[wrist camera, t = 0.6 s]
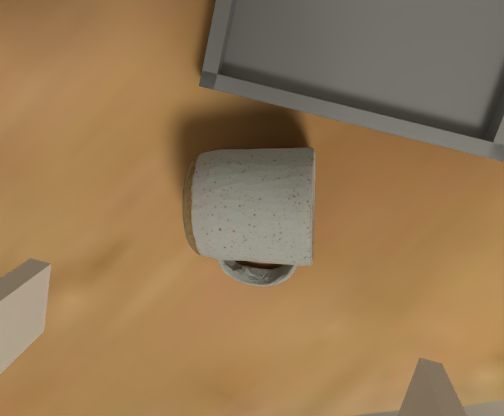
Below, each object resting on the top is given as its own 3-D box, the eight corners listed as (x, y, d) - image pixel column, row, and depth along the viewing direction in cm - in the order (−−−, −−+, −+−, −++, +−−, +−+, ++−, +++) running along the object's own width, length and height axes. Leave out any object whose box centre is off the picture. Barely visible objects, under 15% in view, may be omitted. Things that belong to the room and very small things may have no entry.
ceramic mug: (200, 142, 34) (171, 163, 27) (314, 138, 33) (318, 159, 26) (210, 277, 37) (187, 329, 30) (315, 277, 36) (318, 331, 29)
